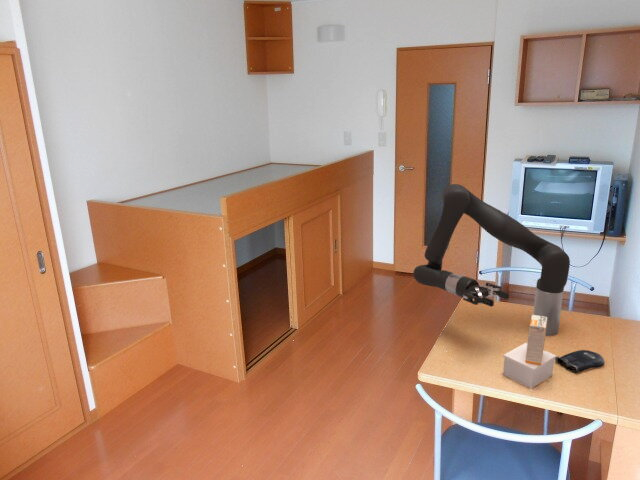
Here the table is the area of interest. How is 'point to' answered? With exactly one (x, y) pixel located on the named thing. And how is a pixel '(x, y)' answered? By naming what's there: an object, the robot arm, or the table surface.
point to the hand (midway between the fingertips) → (501, 300)
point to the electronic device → (581, 360)
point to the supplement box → (536, 339)
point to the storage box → (527, 367)
